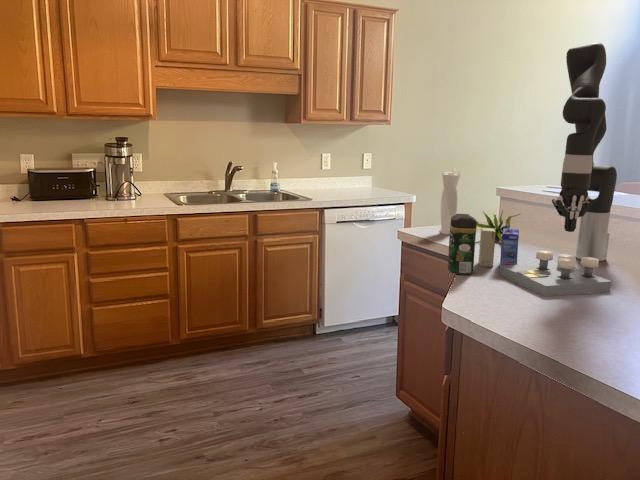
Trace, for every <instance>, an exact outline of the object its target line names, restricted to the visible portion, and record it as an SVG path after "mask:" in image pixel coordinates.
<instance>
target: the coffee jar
mask: <svg viewBox="0 0 640 480" xmlns="http://www.w3.org/2000/svg"><path fill="white" fill-rule="evenodd" d="M477 221H478V220H477V219H476V218H475V217H473V216H472V215H470V214H469V213H456V215H454V216H452V217H451V223H450V235H449V238H448V239H449V240H448V256H447V269H448V271H449V273H452V274H456V275H460V276H465V275H472V274H473V273H474V267H475V266H474V264H475V251H476V249H475V248H476V237H477V228H478V226H477Z"/></svg>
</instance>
